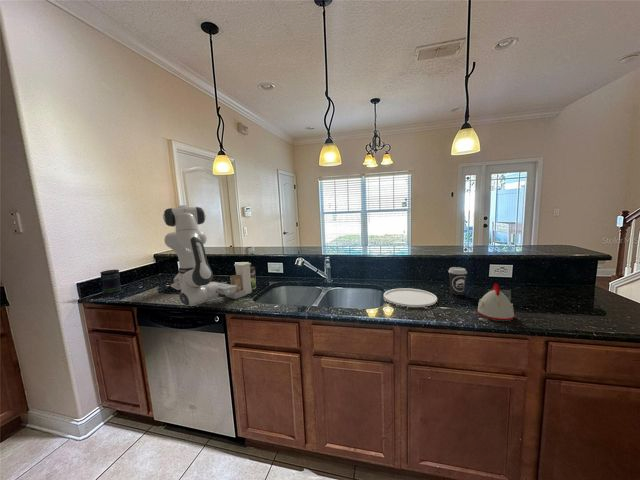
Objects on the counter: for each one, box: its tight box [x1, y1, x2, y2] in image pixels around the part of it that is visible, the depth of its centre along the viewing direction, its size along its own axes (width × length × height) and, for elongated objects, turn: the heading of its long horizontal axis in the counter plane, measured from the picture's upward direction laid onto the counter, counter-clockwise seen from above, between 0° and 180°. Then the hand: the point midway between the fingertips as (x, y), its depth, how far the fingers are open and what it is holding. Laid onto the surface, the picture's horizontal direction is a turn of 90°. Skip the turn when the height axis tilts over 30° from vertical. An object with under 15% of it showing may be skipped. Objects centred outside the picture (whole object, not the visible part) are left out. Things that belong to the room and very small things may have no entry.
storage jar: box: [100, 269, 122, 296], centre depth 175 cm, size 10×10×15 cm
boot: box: [225, 261, 252, 300], centre depth 162 cm, size 9×14×19 cm, turn 147°
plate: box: [383, 287, 438, 307], centre depth 146 cm, size 28×28×2 cm
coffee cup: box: [448, 266, 468, 295], centre depth 151 cm, size 10×10×15 cm
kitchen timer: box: [477, 283, 515, 320], centre depth 120 cm, size 14×14×15 cm
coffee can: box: [250, 265, 257, 291], centre depth 176 cm, size 10×10×14 cm
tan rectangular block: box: [229, 274, 241, 293], centre depth 160 cm, size 4×4×12 cm
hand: (231, 284), depth 157 cm, fingers open, 8 cm apart
